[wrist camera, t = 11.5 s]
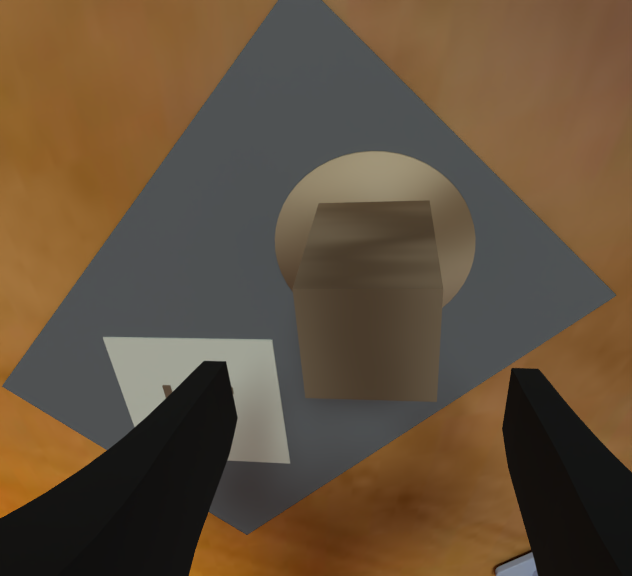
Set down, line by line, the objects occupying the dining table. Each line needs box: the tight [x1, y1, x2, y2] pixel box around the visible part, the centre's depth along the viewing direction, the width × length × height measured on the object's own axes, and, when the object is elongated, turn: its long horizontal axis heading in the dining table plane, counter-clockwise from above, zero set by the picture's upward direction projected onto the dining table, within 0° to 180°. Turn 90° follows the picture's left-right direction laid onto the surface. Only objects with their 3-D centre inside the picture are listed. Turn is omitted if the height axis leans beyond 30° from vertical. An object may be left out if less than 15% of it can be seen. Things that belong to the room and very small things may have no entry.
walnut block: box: [293, 200, 443, 402], centre depth 18 cm, size 4×4×6 cm
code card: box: [103, 337, 290, 464], centre depth 26 cm, size 8×8×1 cm
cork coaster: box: [275, 151, 476, 308], centre depth 20 cm, size 8×8×1 cm
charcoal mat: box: [2, 0, 616, 535], centre depth 23 cm, size 16×24×1 cm, turn 139°
